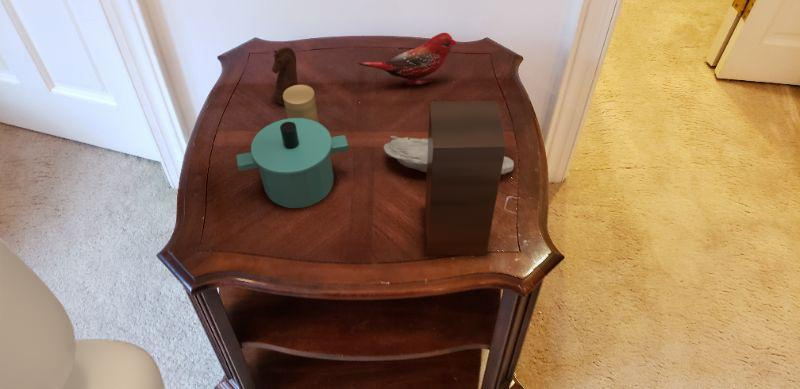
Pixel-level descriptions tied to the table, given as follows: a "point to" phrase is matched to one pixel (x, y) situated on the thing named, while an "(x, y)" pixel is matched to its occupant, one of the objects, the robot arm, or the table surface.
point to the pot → (297, 179)
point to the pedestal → (462, 176)
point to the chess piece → (284, 71)
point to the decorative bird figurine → (417, 60)
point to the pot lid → (291, 146)
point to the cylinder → (300, 102)
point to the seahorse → (421, 153)
